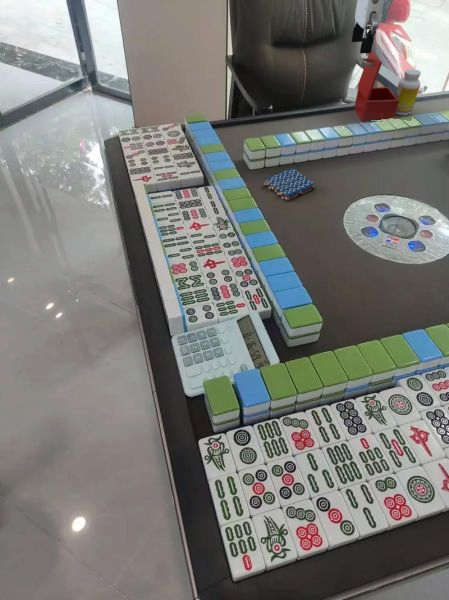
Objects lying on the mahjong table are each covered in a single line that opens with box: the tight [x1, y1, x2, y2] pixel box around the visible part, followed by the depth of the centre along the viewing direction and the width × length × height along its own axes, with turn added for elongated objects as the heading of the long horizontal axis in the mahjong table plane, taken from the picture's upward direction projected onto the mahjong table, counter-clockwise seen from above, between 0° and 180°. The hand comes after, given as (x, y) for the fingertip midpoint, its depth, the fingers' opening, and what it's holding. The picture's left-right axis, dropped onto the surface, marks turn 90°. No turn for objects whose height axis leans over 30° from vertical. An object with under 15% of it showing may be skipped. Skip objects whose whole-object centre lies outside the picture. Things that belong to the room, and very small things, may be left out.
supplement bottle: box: [395, 68, 422, 116], centre depth 141 cm, size 7×7×13 cm
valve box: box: [353, 86, 399, 123], centre depth 143 cm, size 10×10×7 cm
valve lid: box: [355, 49, 383, 100], centre depth 135 cm, size 11×10×5 cm
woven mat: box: [263, 168, 317, 201], centre depth 117 cm, size 10×11×2 cm
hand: (360, 47), depth 129 cm, fingers open, 9 cm apart
